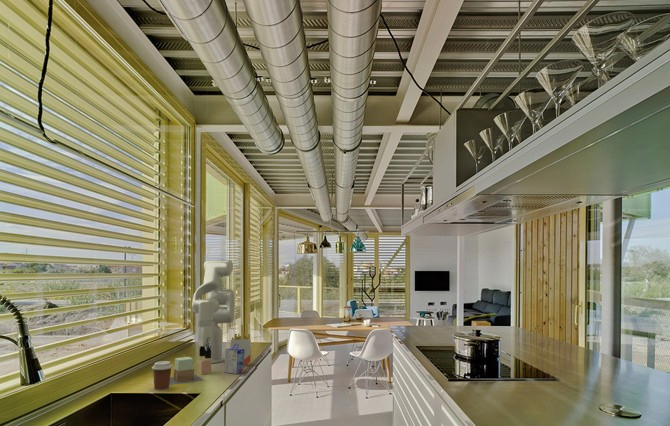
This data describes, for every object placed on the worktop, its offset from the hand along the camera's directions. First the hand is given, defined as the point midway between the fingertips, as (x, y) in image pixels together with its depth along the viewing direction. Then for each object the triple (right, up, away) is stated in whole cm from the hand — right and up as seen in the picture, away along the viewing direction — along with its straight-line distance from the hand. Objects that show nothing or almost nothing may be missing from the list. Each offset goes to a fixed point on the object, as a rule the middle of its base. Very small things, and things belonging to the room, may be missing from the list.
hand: (205, 357), depth 249 cm
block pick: (0, -9, 0) cm, 9 cm away
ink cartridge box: (+15, -9, +2) cm, 18 cm away
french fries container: (+15, -11, +20) cm, 27 cm away
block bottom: (-7, -7, -14) cm, 17 cm away
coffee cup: (-11, -5, -32) cm, 34 cm away
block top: (-7, -2, -13) cm, 15 cm away
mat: (-7, -7, -14) cm, 17 cm away
